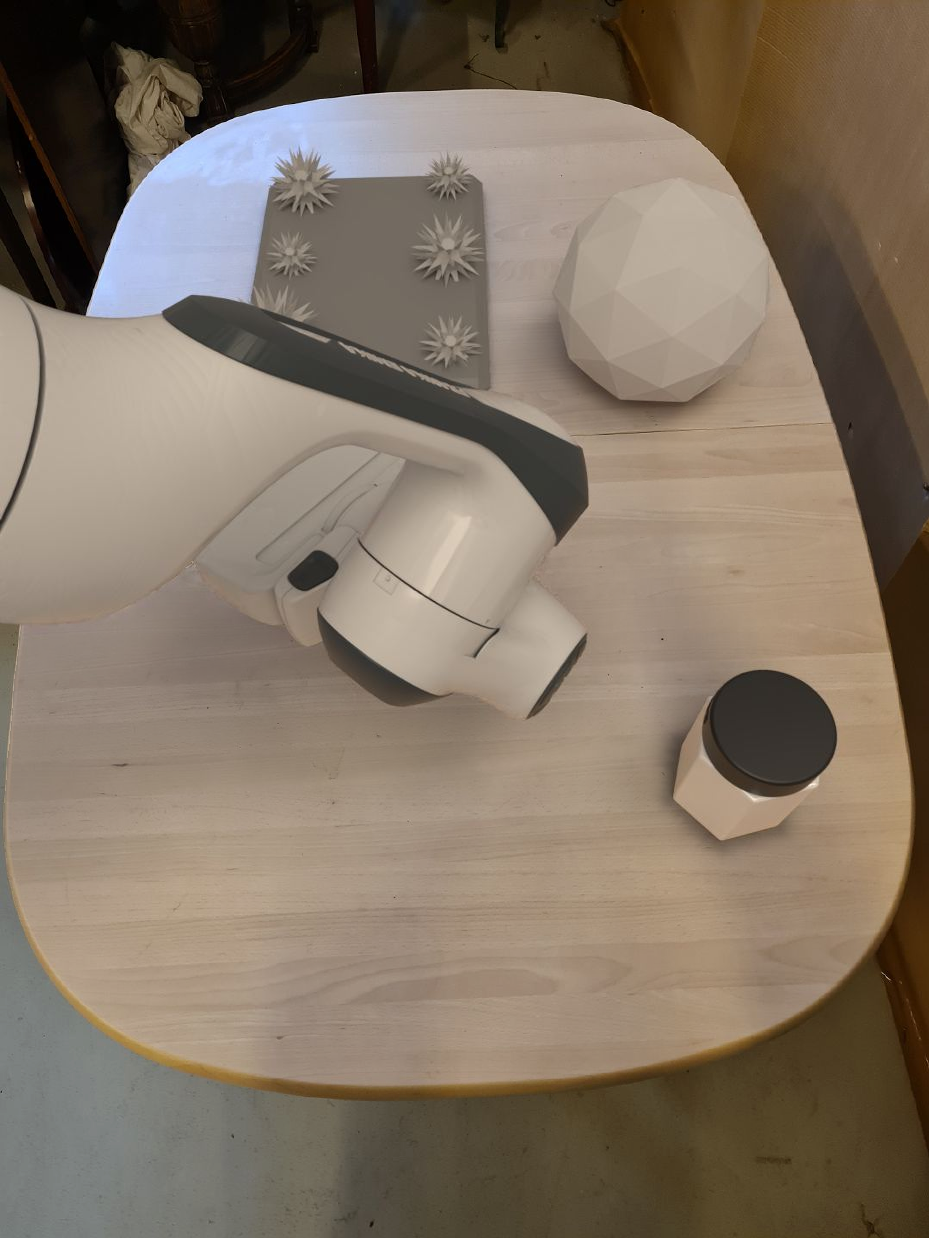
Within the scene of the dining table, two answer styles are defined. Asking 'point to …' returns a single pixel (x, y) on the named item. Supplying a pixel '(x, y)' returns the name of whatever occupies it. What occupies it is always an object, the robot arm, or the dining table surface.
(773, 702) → the jar
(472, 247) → the decorative tray
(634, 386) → the sphere
